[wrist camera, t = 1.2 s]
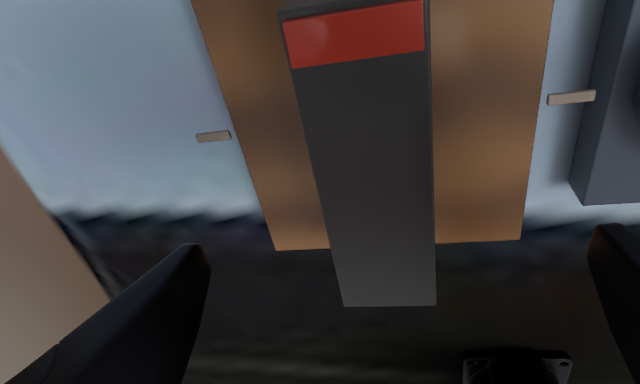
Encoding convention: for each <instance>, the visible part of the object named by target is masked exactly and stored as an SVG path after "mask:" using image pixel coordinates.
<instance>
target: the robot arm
mask: <svg viewBox="0 0 640 384" xmlns="http://www.w3.org/2000/svg"><path fill="white" fill-rule="evenodd" d="M587 260H588V264H589V267H590V270H591V273H592V276H593V279H594V282H595V286H596V289H597V292H598V295H599V298H600V301H601V304H602V307H603V310H604V313H605V316H606V319H607V321H608V324H609V327H610V330H611V332H612V334H613V336H614V339H615V341H616V343H617V345H618V347H619V349H620V351H621V354H622V356H623V358H624V360H625V362H626V364H627V366H628V368H629V371H630V373H631V375H632V377H633V379H634V381H635V383H636V384H640V235H639V234H637V233H635V232H634V231H632V230H630V229H629V228H627V227H625V226H624V225H622V224H619V223H608V224H598V225H596V226H595V228H594V230H593V234H592V237H591V241H590V244H589V248H588V252H587ZM210 276H211V267H210V264H209V262H208V260H207V258H206V256H205V253H204V251H203V249H202V247H201V246H200V245H199V244H197V243H192V244H183V245H181V246H180V247H178V248H177V249H176V250H175V251H173V252H172V253H171V254H169V255H168V256H167V257H166V258H164V259H163V260H162V261H161V262H159V263H158V264H157V265H156V266H154V267H153V268H152V269H151V270H149V271H148V272H147V273H145V274H144V275H143V276H142V277H140V278H139V279H138V280H137V281H135V282H134V283H133V284H132V285H130V286H129V287H128V288H127V289H125V290H124V291H123V292H121V293H120V294H119V295H118V296H116V297H115V298H114V299H113V300H111V301H110V302H109V303H108V304H106V305H105V306H104V307H103V308H101V309H100V310H99V311H97V312H96V313H95V314H94V315H92V316H91V317H90V318H89V319H87V320H86V321H85V322H84V323H82V324H81V325H80V326H79V327H77V328H76V329H75V330H73V331H72V332H71V333H70V334H68V335H67V336H66V337H65V338H63V339H62V340H61V341H60V342H59V344H56V345H54V346H53V347H52V348H51V349H49V350H48V351H47V352H46V353H44V354H43V355H42V356H41V357H39V358H38V359H37V360H35V361H34V362H33V363H31V364H30V365H29V366H27V367H26V368H25V369H24V370H22V371H21V372H20V373H18V374H17V375H16V376H14V377H13V378H11V379H10V380H9V381H7V382H6V383H5V384H181V382H182V379H183V376H184V373H185V370H186V367H187V364H188V361H189V358H190V355H191V352H192V349H193V346H194V343H195V340H196V337H197V334H198V330H199V327H200V323H201V318H202V314H203V309H204V304H205V300H206V295H207V290H208V286H209V281H210ZM572 365H573V362H572V359H571V357H570V356H569V355H568V354H545V353H467V354H465V355H463V359H462V384H567V381H568V377H569V374H570V371H571V368H572Z"/></svg>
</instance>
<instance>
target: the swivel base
mask: <svg viewBox="0 0 640 384" xmlns="http://www.w3.org/2000/svg"><path fill="white" fill-rule="evenodd" d="M285 1H286V0H191V3H192V6H193V9H194V12H195V15H196V18H197V20H198V23H199V26H200V29H201V32H202V35H203V38H204V41H205V44H206V47H207V50H208V53H209V56H210V59H211V62H212V64H213V67H214V70H215V73H216V76H217V79H218V82H219V85H220V88H221V91H222V94H223V97H224V100H225V103H226V105H227V108H228V111H229V114H230V117H231V120H232V123H233V126H234V129H235V132H236V135H237V138H238V141H239V144H240V146H241V149H242V152H243V155H244V158H245V161H246V164H247V167H248V170H249V173H250V176H251V179H252V182H253V185H254V188H255V190H256V193H257V196H258V199H259V202H260V205H261V208H262V211H263V214H264V217H265V220H266V223H267V226H268V229H269V231H270V234H271V237H272V240H273V243H274V246H275V249H276V251H280V250H302V249H324V248H330V244H329V240H328V235H327V231H326V227H325V222H324V218H323V214H322V209H321V205H320V201H319V197H318V192H317V188H316V184H315V179H314V175H313V171H312V166H311V162H310V158H309V153H308V149H307V145H306V140H305V136H304V132H303V127H302V123H301V119H300V114H299V110H298V106H297V102H296V97H295V93H294V89H293V84H292V80H291V76H290V71H289V67H288V63H287V58H286V54H285V50H284V45H283V41H282V37H281V32H280V28H279V24H278V19H277V15H276V14H277V11H278V10H279V8H280V7H281V6H282V5H283V3H284V2H285ZM553 4H554V0H430V37H431V80H432V123H433V167H434V210H435V243H457V242H479V241H502V240H520V235H521V228H522V221H523V214H524V207H525V200H526V193H527V186H528V179H529V172H530V165H531V158H532V151H533V144H534V137H535V130H536V123H537V116H538V109H539V102H540V95H541V88H542V81H543V74H544V67H545V60H546V53H547V46H548V39H549V32H550V25H551V18H552V11H553ZM595 94H596V90H595V89H589V90H580V91H571V92H562V93H553V94H548V96H547V103H546V104H547V105H548V106H549V105H559V104H568V103H577V102H587V101H594V99H595ZM195 136H196V138H197V141H198V143H202V142H212V141H221V140H230V139H231V138H232V137H231V134H230V131H229V130H223V131H214V132H205V133H197V134H196V135H195Z"/></svg>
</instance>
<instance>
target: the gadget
mask: <svg viewBox="0 0 640 384" xmlns="http://www.w3.org/2000/svg"><path fill="white" fill-rule="evenodd" d="M276 15H277V19H278V24H279V28H280V32H281V37H282V41H283V45H284V50H285V54H286V58H287V63H288V67H289V71H290V76H291V80H292V84H293V89H294V93H295V97H296V102H297V106H298V110H299V114H300V119H301V123H302V127H303V132H304V136H305V140H306V145H307V149H308V153H309V158H310V162H311V166H312V171H313V175H314V179H315V184H316V188H317V192H318V197H319V201H320V205H321V209H322V214H323V218H324V222H325V227H326V231H327V235H328V240H329V244H330V248H331V253H332V257H333V261H334V266H335V270H336V274H337V279H338V283H339V287H340V292H341V296H342V300H343V304H344V306H345V307H379V306H435V305H436V303H437V297H436V253H435V210H434V167H433V123H432V80H431V37H430V0H286V1H285V2H284V3H283V5H282V6H281V7H280V8H279V10H278V11H277V14H276Z"/></svg>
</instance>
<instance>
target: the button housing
mask: <svg viewBox="0 0 640 384" xmlns="http://www.w3.org/2000/svg"><path fill="white" fill-rule="evenodd" d="M589 89H595V90H596V94H595V99H594V101H587V102H585V107H584V111H583V116H582V121H581V125H580V130H579V135H578V139H577V144H576V149H575V153H574V158H573V163H572V167H571V172H570V177H569V182H568V183H569V185H570V186H571V188H572V190H573V191H574V193H575V194H576V196H577V198H578V199H579V201H580V202H581V204H582V205H583V206H587V205H604V204H621V203H637V202H640V0H607V3H606V8H605V13H604V17H603V22H602V27H601V31H600V36H599V41H598V46H597V50H596V55H595V60H594V64H593V69H592V74H591V78H590V83H589V88H588V90H589Z"/></svg>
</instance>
